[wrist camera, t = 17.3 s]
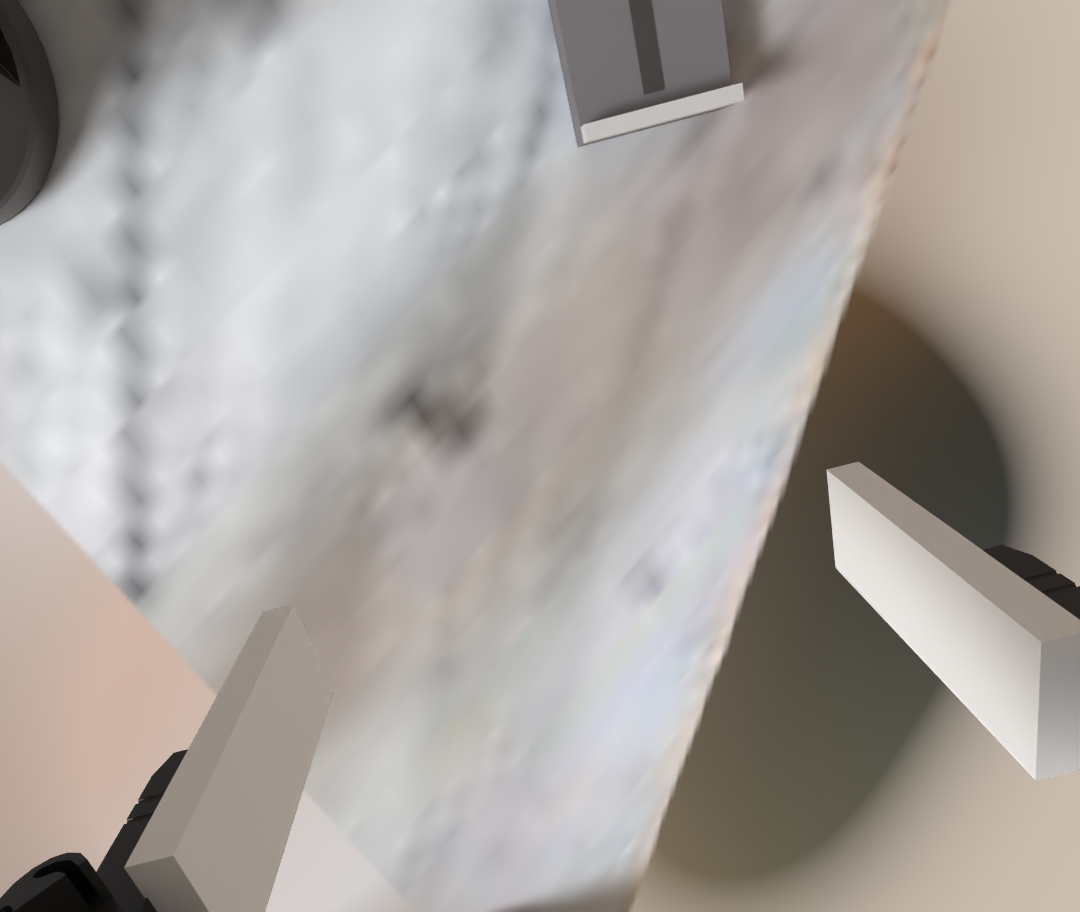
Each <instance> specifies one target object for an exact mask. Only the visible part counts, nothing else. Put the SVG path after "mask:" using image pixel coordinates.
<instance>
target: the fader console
mask: <svg viewBox="0 0 1080 912" xmlns="http://www.w3.org/2000/svg"><path fill="white" fill-rule="evenodd" d="M548 2H549V7H550V12H551V17H552V22H553V27H554V32H555V37H556V42H557V47H558V52H559V57H560V61H561V66H562V71H563V76H564V81H565V86H566V91H567V96H568V101H569V106H570V111H571V116H572V121H573V126H574V131H575V136H576V140H577V145H578V147H580V146H584V145H588V144H592V143H595V142H599V141H603V140H607V139H611V138H614V137H618V136H622V135H626V134H630V133H633V132H637V131H641V130H645V129H648V128H652V127H656V126H660V125H664V124H667V123H671V122H675V121H679V120H683V119H686V118H690V117H694V116H698V115H702V114H705V113H709V112H713V111H717V110H720V109H723V108H725V107H728V106H731V105H733V104H736V103H739V102H741V101H744V92H743V84H742V83H739V84H735V85H732V83H731V74H730V66H729V58H728V49H727V41H726V33H725V25H724V16H723V8H722V0H548Z"/></svg>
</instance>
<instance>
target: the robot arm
mask: <svg viewBox="0 0 1080 912" xmlns="http://www.w3.org/2000/svg"><path fill="white" fill-rule="evenodd" d="M57 135H58V107H57V97H56V91H55V86H54V81H53V77H52V73H51V70H50V67H49V63H48V60H47V57H46V55H45V52H44V50H43V47H42V45H41V42H40V40H39V38H38V36H37V34H36V32H35V30H34V28H33V26H32V24H31V22H30V20H29V19H28V17H27V15H26V14H25V12H24V10H23V9H22V7H21V6H20V4H19V3H18V1H17V0H0V225H1V224H3V223H4V222H6V221H8V220H9V219H11V218H12V217H14V216H15V215H16V214H18V213H19V212H20V211H21V210H22V209H23V208H24V207H25V206H26V205H27V204H28V203H29V202H30V201H31V200H32V199H33V197H34V196H35V195H36V193H37V192H38V191H39V189H40V187H41V186H42V184H43V182H44V180H45V178H46V176H47V174H48V172H49V169H50V167H51V164H52V160H53V157H54V153H55V148H56V143H57ZM827 478H828V489H829V500H830V511H831V522H832V531H833V544H834V555H835V566H836V569H837V570H838V571H839V572H840V573H841V574H842V575H843V576H844V577H845V578H846V579H847V580H848V581H849V582H850V583H851V584H852V586H853V587H854V588H855V589H856V590H857V591H858V592H859V593H860V594H861V595H862V596H863V597H864V598H865V599H866V600H867V602H868V603H869V604H870V605H871V606H872V607H873V608H874V609H875V610H876V611H877V612H878V613H879V614H880V615H881V616H882V618H884V620H885V621H886V622H887V623H888V624H889V625H890V626H891V627H892V628H893V629H894V630H895V631H896V632H897V633H898V634H899V635H900V637H901V638H902V639H903V640H904V641H905V642H906V643H907V644H908V645H909V646H910V647H911V648H912V649H913V650H914V652H915V653H916V654H917V655H918V656H919V657H920V658H921V659H922V660H923V661H924V662H925V663H926V664H927V665H928V666H929V667H930V669H931V670H932V671H933V672H934V673H935V674H936V675H937V676H938V677H939V678H940V679H941V680H942V681H943V682H944V683H945V685H947V686H948V688H949V689H950V690H951V691H952V692H953V693H954V694H955V695H956V696H957V697H958V698H959V699H960V700H961V702H962V703H963V704H964V705H965V706H966V707H967V708H968V709H969V710H970V711H971V712H972V713H973V714H974V715H975V716H976V718H978V720H979V721H980V722H981V723H982V724H983V725H984V726H985V727H986V728H987V729H988V730H989V731H990V732H991V733H992V735H993V736H994V737H995V738H996V739H997V740H998V741H999V742H1000V743H1001V744H1002V745H1003V746H1004V747H1005V748H1006V749H1007V750H1008V752H1009V753H1010V754H1011V755H1012V756H1013V757H1014V758H1015V759H1016V760H1017V761H1018V762H1019V763H1020V764H1021V765H1022V766H1023V767H1024V768H1025V770H1026V771H1027V772H1028V773H1029V774H1030V775H1031V776H1032V777H1033V778H1034V779H1035V780H1039V779H1042V778H1047V777H1051V776H1055V775H1059V774H1063V773H1067V772H1072V771H1076V770H1080V586H1079V587H1076V585H1075V583H1074V582H1072V581H1071V580H1069V579H1068V578H1066V577H1065V576H1063V575H1062V574H1057V573H1056V571H1055V570H1054V569H1053V568H1051V567H1049V566H1048V565H1047V564H1045V563H1043V562H1042V561H1040V560H1039V559H1037V558H1036V557H1034V556H1033V555H1030V554H1027V553H1024V552H1021V551H1018V550H1015V549H1013V548H1009V547H1007V546H1004V545H1000V546H996V547H992V548H988V549H984V550H981V549H980V548H978V547H977V546H976V545H974V544H973V543H971V542H970V541H969V540H967V539H966V538H965V537H963V536H961V535H960V534H959V533H958V532H956V531H955V530H953V529H952V528H950V527H949V526H948V525H946V524H945V523H943V522H942V521H940V520H939V519H938V518H936V517H935V516H934V515H932V514H931V513H929V512H928V511H927V510H925V509H924V508H922V507H921V506H919V505H918V504H917V503H915V502H914V501H913V500H911V499H910V498H908V497H907V496H906V495H904V494H903V493H901V492H900V491H899V490H897V489H896V488H894V487H893V486H891V485H890V484H889V483H887V482H886V481H885V480H883V479H882V478H880V477H879V476H878V475H876V474H875V473H873V472H872V471H871V470H869V469H868V468H866V467H865V466H864V465H862V464H861V463H859V462H856V463H852V464H848V465H844V466H840V467H836V468H832V469H828V470H827ZM332 695H333V692H332V689H331V687H330V685H329V683H328V681H327V678H326V676H325V674H324V672H323V670H322V667H321V665H320V663H319V661H318V658H317V656H316V654H315V652H314V650H313V647H312V645H311V643H310V641H309V638H308V636H307V634H306V632H305V630H304V627H303V625H302V623H301V621H300V619H299V616H298V614H297V612H296V610H295V607H294V605H289V606H285V607H281V608H277V609H273V610H269V611H265V612H262V614H261V616H260V618H259V620H258V621H257V623H256V625H255V627H254V629H253V631H252V632H251V634H250V636H249V638H248V640H247V642H246V644H245V645H244V647H243V649H242V651H241V653H240V655H239V656H238V658H237V660H236V662H235V664H234V666H233V668H232V669H231V671H230V673H229V675H228V677H227V679H226V680H225V682H224V684H223V686H222V688H221V690H220V692H219V693H218V695H217V697H216V699H215V701H214V703H213V704H212V706H211V708H210V710H209V712H208V714H207V716H206V717H205V719H204V721H203V723H202V725H201V727H200V728H199V730H198V732H197V734H196V736H195V738H194V739H193V741H192V743H191V745H190V747H189V749H187V750H183V751H180V752H176V753H173V754H172V756H170V758H169V759H168V760H167V761H166V762H165V763H164V764H163V765H162V766H161V767H160V768H159V769H158V770H157V771H156V772H155V773H154V774H153V776H152V777H151V779H150V780H149V782H148V784H147V786H146V787H145V789H144V791H143V792H142V794H141V796H140V798H139V799H138V801H139V803H138V804H136V805H135V806H134V808H133V810H132V811H131V813H130V815H129V817H128V818H127V824H124V825H123V827H122V829H121V830H120V832H119V834H118V836H117V837H116V839H115V841H114V842H113V844H112V846H111V848H110V849H109V851H108V853H107V854H106V856H105V858H104V860H103V861H102V863H101V865H100V867H99V868H98V870H97V872H96V871H95V870H94V869H93V867H92V866H91V865H90V863H89V861H88V860H87V859H86V858H85V857H84V856H83V855H82V854H81V853H65V854H62V855H59V856H56V857H53V858H50V859H49V860H47V861H45V862H43V863H42V864H40V865H38V866H37V867H35V868H33V869H31V870H30V871H29V872H28V873H26V874H25V875H24V876H23V877H21V878H20V879H19V880H18V881H16V882H15V883H14V884H13V885H12V886H11V887H10V888H9V889H8V890H7V892H6V893H5V894H4V895H3V896H2V897H1V898H0V912H265V910H266V907H267V904H268V901H269V897H270V894H271V891H272V888H273V884H274V881H275V878H276V875H277V872H278V868H279V865H280V862H281V859H282V856H283V852H284V849H285V846H286V843H287V840H288V836H289V833H290V830H291V826H292V824H293V820H294V817H295V814H296V811H297V807H298V804H299V801H300V798H301V795H302V791H303V788H304V785H305V782H306V779H307V775H308V772H309V769H310V766H311V763H312V759H313V756H314V753H315V750H316V746H317V743H318V740H319V737H320V734H321V730H322V727H323V724H324V721H325V718H326V714H327V711H328V708H329V705H330V702H331V698H332Z"/></svg>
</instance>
